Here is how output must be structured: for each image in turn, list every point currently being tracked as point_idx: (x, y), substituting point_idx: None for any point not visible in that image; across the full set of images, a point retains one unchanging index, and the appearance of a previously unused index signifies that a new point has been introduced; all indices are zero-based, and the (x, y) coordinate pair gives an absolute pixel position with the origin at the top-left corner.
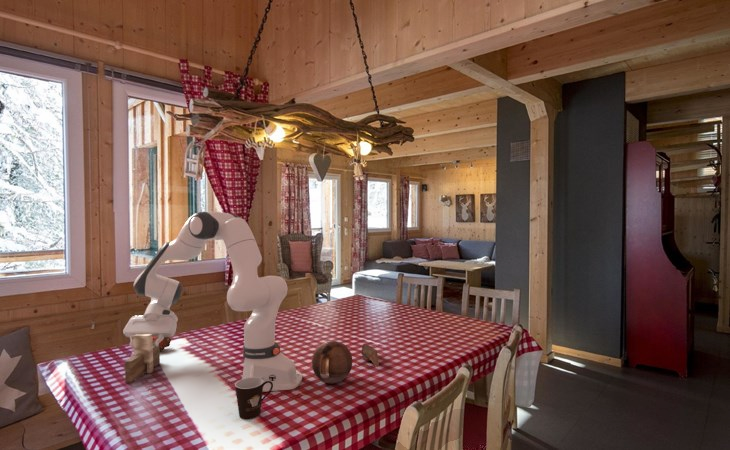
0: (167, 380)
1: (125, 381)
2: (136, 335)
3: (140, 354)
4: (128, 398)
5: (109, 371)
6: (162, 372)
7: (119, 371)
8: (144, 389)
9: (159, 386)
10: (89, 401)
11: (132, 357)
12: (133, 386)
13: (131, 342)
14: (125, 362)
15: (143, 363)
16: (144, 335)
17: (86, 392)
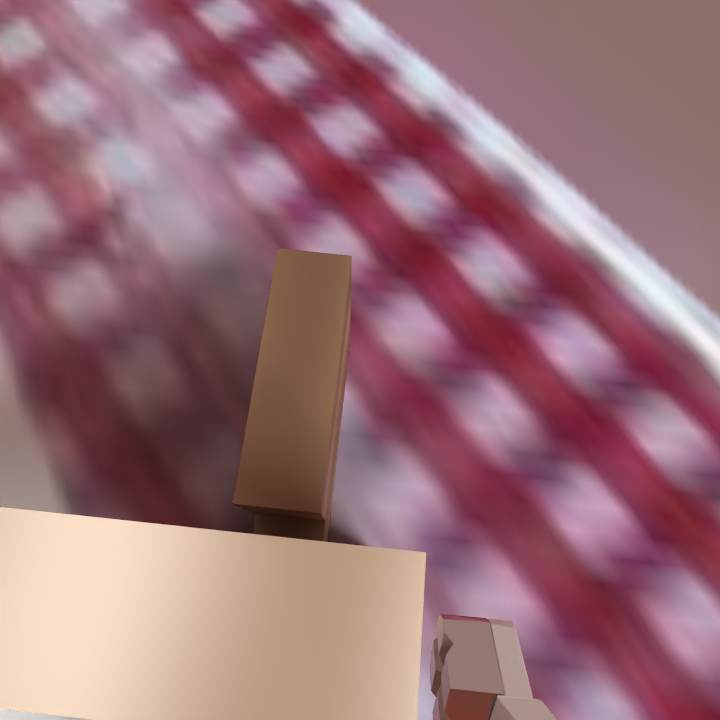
0: (15, 348)
1: (349, 344)
2: (350, 583)
3: (263, 483)
4: (207, 107)
5: (656, 636)
6: None
7: (551, 624)
8: (150, 212)
9: (54, 247)
10: (427, 98)
11: (322, 377)
12: (251, 268)
13: (492, 657)
14: (344, 263)
15: (261, 529)
16: (117, 556)
17: (536, 212)
